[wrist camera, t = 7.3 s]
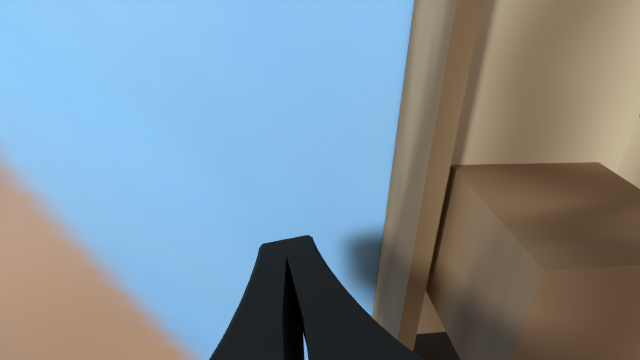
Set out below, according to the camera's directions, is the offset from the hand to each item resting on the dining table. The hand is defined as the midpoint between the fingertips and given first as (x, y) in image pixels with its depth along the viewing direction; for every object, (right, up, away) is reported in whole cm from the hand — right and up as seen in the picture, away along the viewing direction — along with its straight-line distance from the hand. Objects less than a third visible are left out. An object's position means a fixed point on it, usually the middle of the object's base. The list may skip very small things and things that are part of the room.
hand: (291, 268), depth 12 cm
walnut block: (+7, +1, +2) cm, 7 cm away
